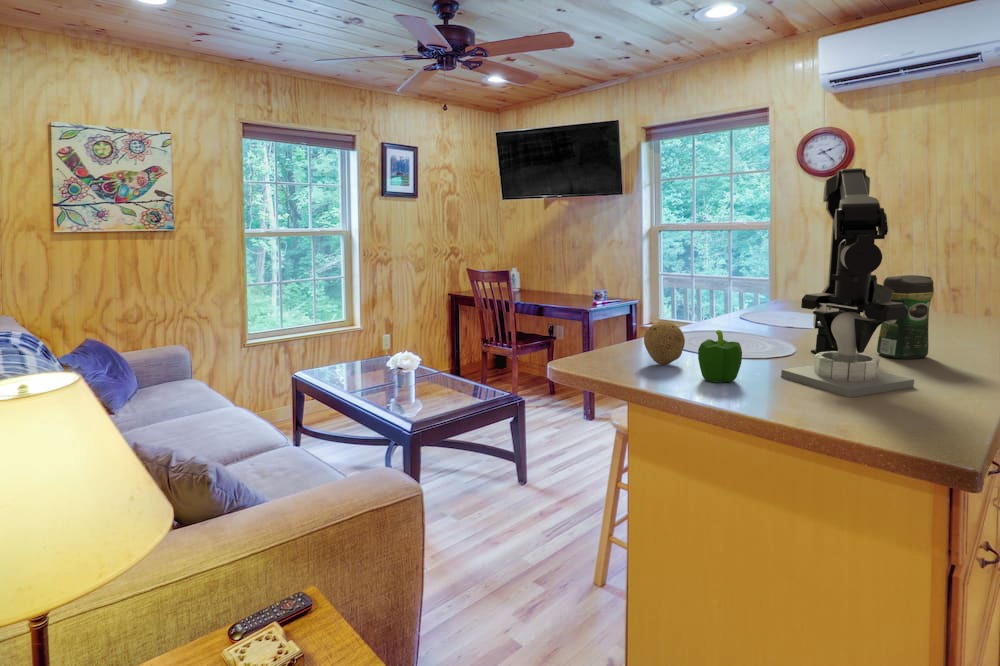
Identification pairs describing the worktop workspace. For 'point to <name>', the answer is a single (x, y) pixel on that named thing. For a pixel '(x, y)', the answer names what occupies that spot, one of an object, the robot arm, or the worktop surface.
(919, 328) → the coffee jar
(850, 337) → the lightbulb
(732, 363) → the bell pepper
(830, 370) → the socket collar
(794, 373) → the socket plate
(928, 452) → the worktop surface
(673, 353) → the natural sponge
